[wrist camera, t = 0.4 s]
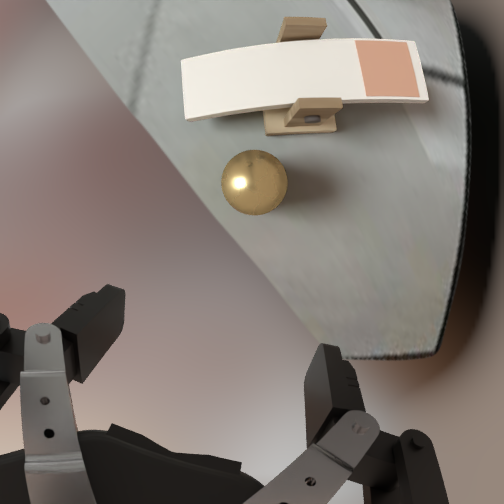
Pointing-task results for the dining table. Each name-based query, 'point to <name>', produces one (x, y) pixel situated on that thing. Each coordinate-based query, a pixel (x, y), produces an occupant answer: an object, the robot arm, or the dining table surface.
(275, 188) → the disc
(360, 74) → the balance beam
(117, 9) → the dining table surface
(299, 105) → the pivot stand
